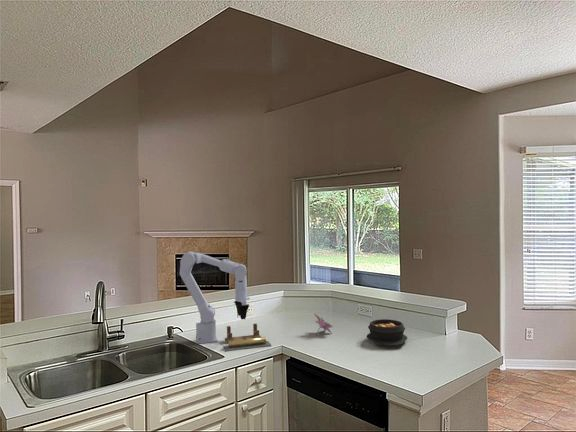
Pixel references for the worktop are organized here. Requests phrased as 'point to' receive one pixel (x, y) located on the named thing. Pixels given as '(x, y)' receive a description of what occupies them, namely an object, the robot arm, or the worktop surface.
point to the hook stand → (229, 336)
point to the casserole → (387, 332)
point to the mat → (246, 346)
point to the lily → (323, 324)
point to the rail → (247, 342)
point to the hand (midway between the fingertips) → (241, 317)
